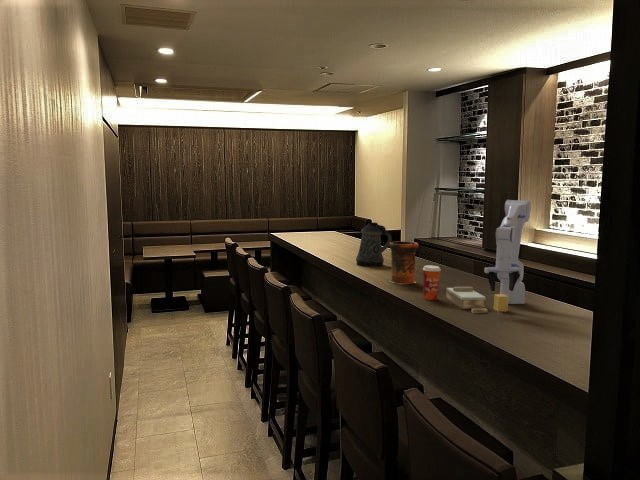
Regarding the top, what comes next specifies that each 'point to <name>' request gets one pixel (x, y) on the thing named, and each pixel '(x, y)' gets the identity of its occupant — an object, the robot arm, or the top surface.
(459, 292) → the lid
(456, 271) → the top surface
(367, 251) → the beer stein
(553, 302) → the top surface
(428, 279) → the paper cup
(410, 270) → the vessel
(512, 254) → the robot arm
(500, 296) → the yellow block
